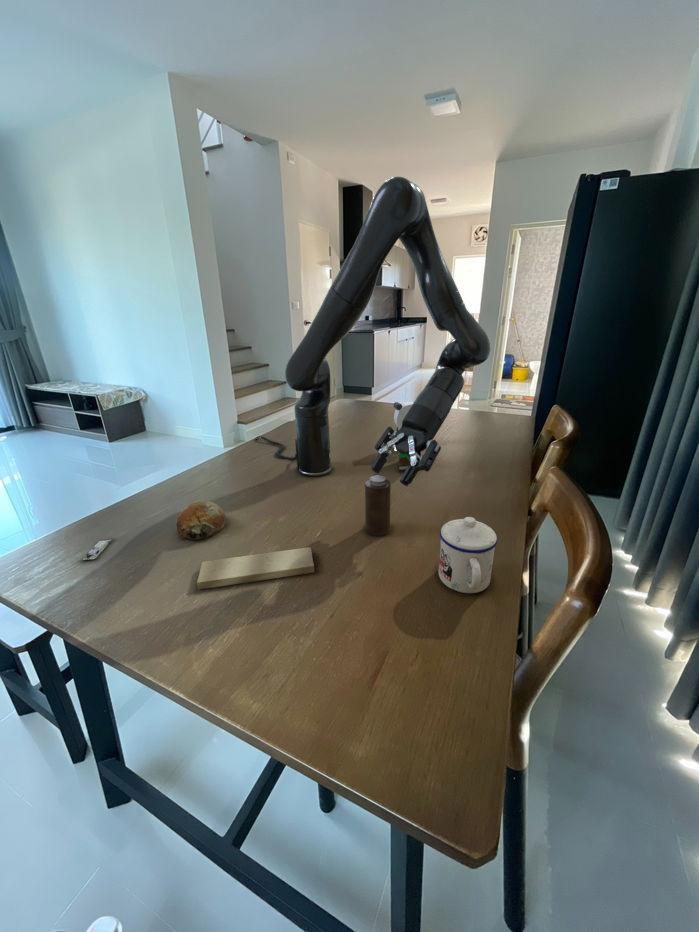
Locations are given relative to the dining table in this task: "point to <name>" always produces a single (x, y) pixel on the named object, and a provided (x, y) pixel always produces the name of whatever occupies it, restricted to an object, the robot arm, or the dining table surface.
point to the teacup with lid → (466, 555)
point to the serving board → (255, 568)
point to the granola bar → (97, 549)
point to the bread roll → (200, 520)
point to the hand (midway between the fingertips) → (388, 477)
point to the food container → (404, 462)
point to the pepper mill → (377, 505)
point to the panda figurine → (401, 413)
